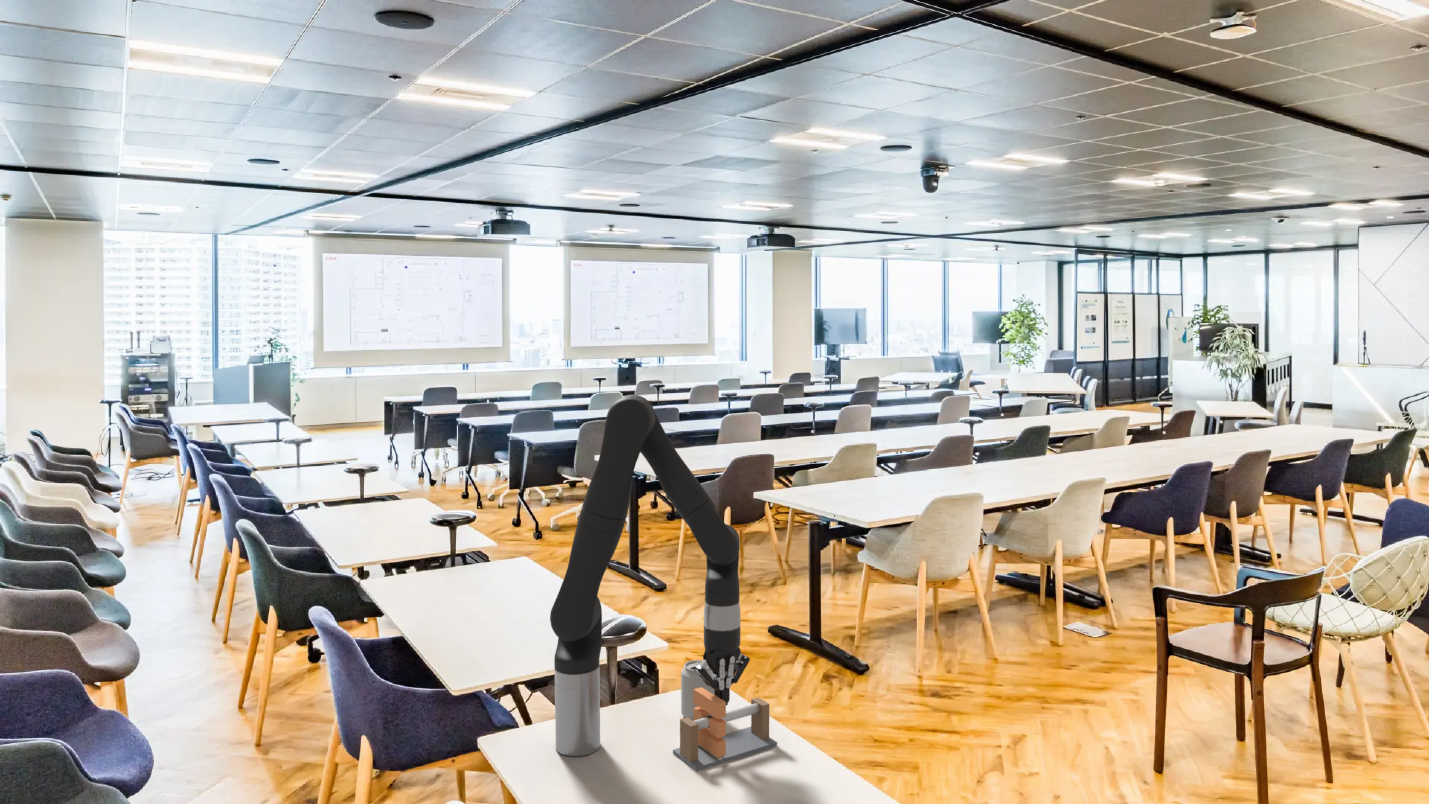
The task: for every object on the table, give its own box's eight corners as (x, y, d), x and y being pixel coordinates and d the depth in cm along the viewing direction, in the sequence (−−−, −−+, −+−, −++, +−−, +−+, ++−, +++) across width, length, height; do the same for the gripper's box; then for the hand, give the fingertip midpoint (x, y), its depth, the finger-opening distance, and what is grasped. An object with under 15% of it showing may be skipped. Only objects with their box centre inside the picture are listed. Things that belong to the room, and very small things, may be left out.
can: (677, 721, 202) (677, 668, 201) (686, 707, 210) (686, 656, 209) (710, 724, 201) (709, 671, 200) (717, 710, 208) (717, 659, 207)
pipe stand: (696, 771, 179) (696, 731, 179) (672, 753, 187) (672, 714, 186) (777, 745, 190) (777, 707, 190) (751, 729, 198) (752, 693, 197)
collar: (717, 757, 182) (717, 704, 181) (693, 740, 190) (693, 689, 189) (725, 754, 183) (725, 702, 182) (701, 738, 191) (701, 687, 190)
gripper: (738, 612, 193) (737, 691, 194) (685, 623, 186) (685, 706, 187) (759, 622, 187) (758, 704, 188) (705, 634, 179) (705, 719, 181)
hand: (721, 704), depth 188 cm, fingers closed
